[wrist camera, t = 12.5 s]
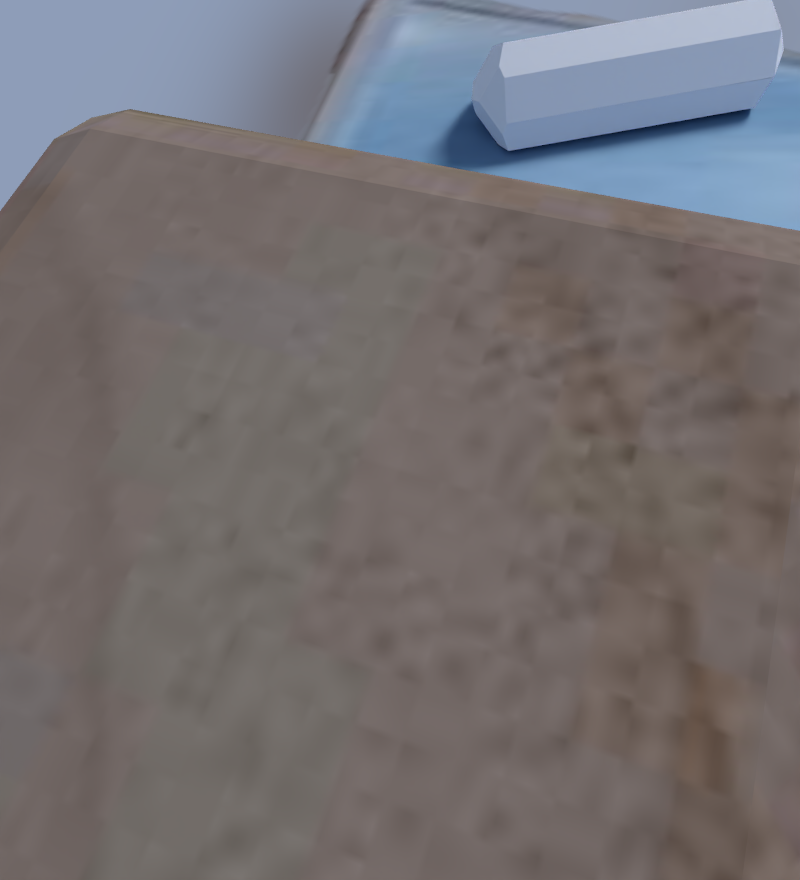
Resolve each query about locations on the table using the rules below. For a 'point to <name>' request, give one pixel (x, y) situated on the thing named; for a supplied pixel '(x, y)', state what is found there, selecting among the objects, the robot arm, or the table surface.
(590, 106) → the crystal
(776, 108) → the table surface
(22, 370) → the wooden block
